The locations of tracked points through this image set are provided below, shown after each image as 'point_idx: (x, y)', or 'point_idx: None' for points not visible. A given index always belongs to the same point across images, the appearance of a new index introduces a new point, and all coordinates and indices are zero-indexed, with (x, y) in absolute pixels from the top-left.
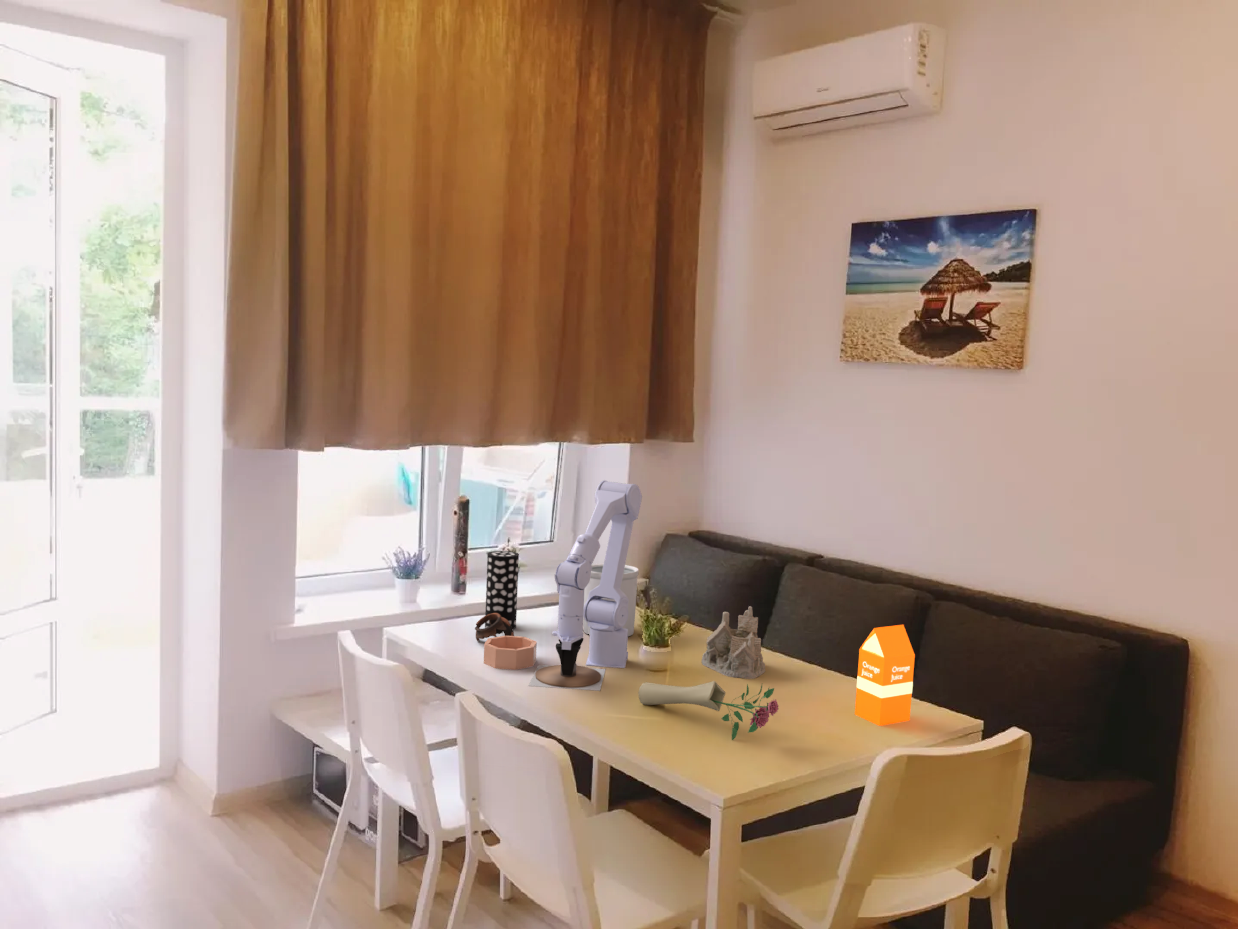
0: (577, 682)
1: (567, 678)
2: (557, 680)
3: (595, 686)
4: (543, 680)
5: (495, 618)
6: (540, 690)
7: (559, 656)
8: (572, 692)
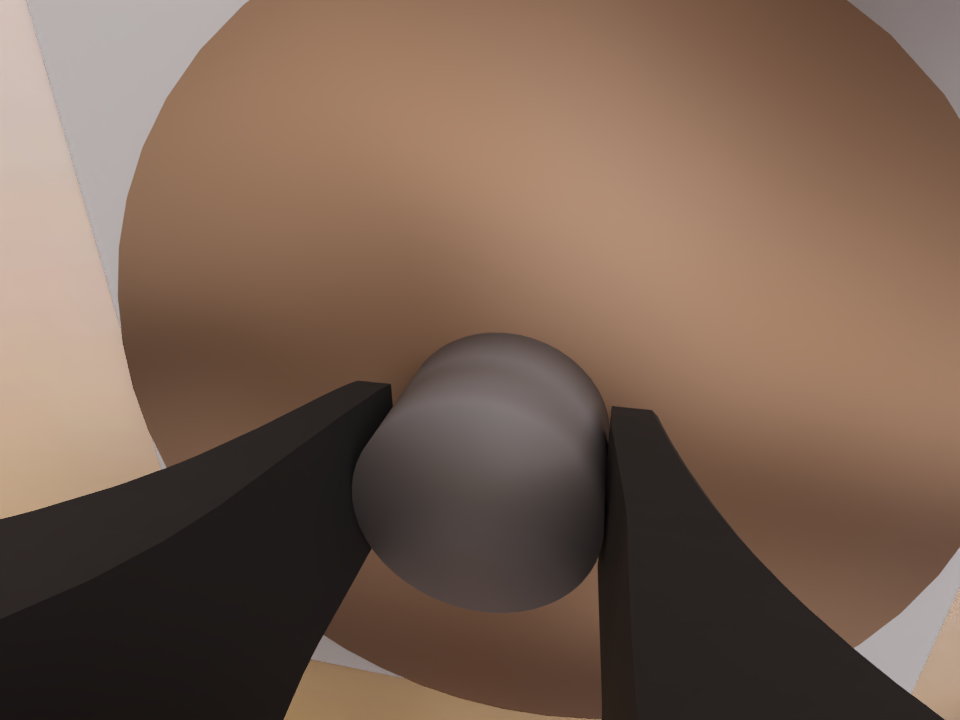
0: None
1: None
2: (235, 306)
3: None
4: (160, 118)
5: None
6: (17, 106)
7: (63, 506)
8: (124, 434)
